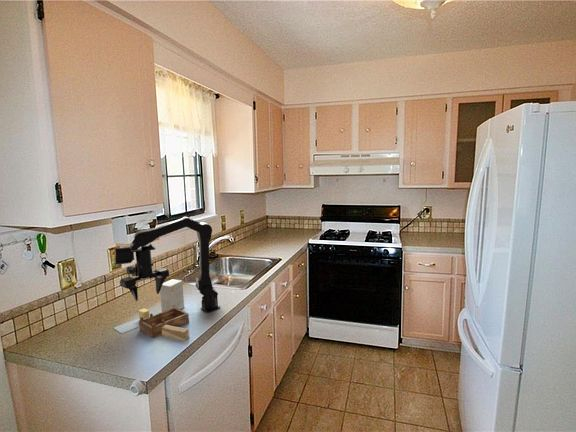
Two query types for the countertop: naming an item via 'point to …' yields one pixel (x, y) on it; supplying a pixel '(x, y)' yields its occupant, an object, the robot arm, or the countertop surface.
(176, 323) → the brown frame
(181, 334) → the tan block
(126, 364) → the countertop surface
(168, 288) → the small box
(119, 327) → the lid
